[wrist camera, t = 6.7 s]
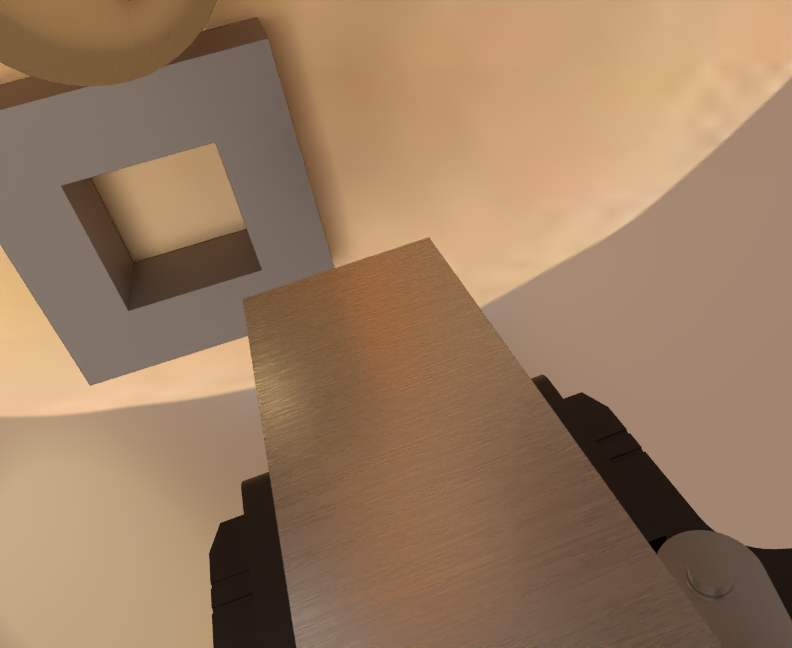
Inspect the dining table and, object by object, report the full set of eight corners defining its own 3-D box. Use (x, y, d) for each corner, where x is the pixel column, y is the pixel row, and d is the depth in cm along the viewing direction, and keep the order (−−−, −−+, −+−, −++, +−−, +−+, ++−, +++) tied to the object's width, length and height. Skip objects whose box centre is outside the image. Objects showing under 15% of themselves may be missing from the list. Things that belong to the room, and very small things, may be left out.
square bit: (242, 299, 13) (414, 1412, 4) (428, 237, 14) (1039, 1087, 4) (300, 434, 16) (499, 1327, 6) (458, 379, 16) (887, 1130, 6)
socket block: (-40, 95, 24) (-73, 129, 20) (256, 17, 25) (268, 38, 22) (99, 331, 30) (90, 385, 27) (328, 261, 31) (345, 304, 28)
